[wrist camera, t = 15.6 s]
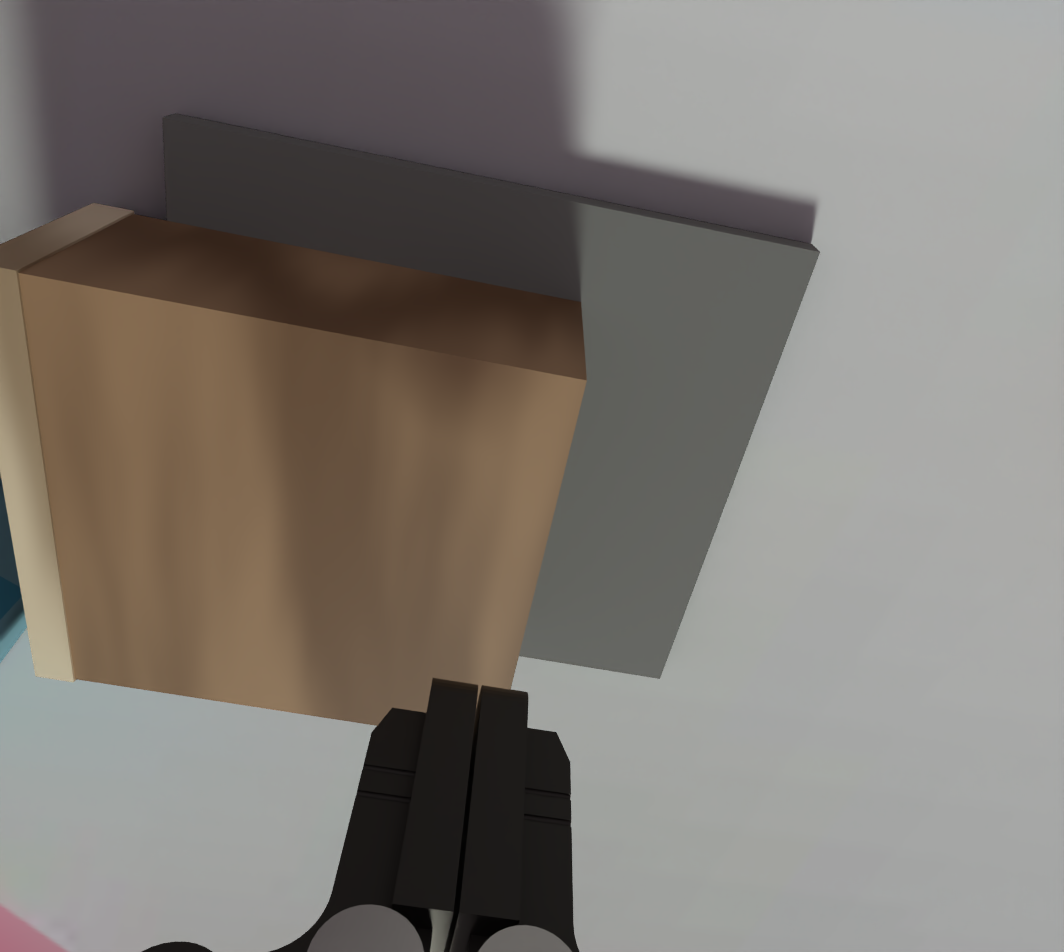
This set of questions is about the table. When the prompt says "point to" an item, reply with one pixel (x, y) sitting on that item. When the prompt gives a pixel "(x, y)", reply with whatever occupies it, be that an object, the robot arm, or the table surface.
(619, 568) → the mat
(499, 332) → the slab
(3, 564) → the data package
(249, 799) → the table surface
